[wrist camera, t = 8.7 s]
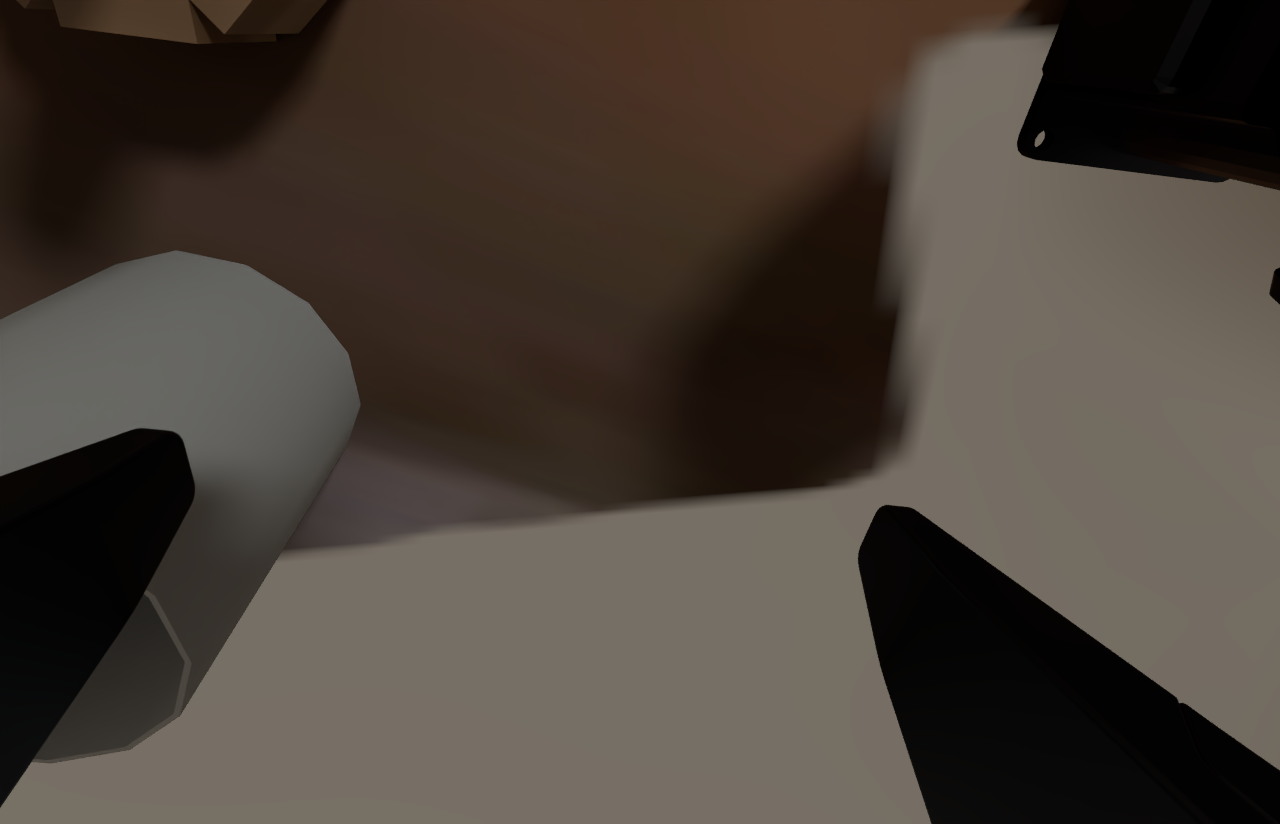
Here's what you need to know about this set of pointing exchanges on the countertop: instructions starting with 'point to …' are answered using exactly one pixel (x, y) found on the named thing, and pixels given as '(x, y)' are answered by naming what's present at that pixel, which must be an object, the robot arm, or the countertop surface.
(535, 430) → the countertop surface
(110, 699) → the cup
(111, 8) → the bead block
